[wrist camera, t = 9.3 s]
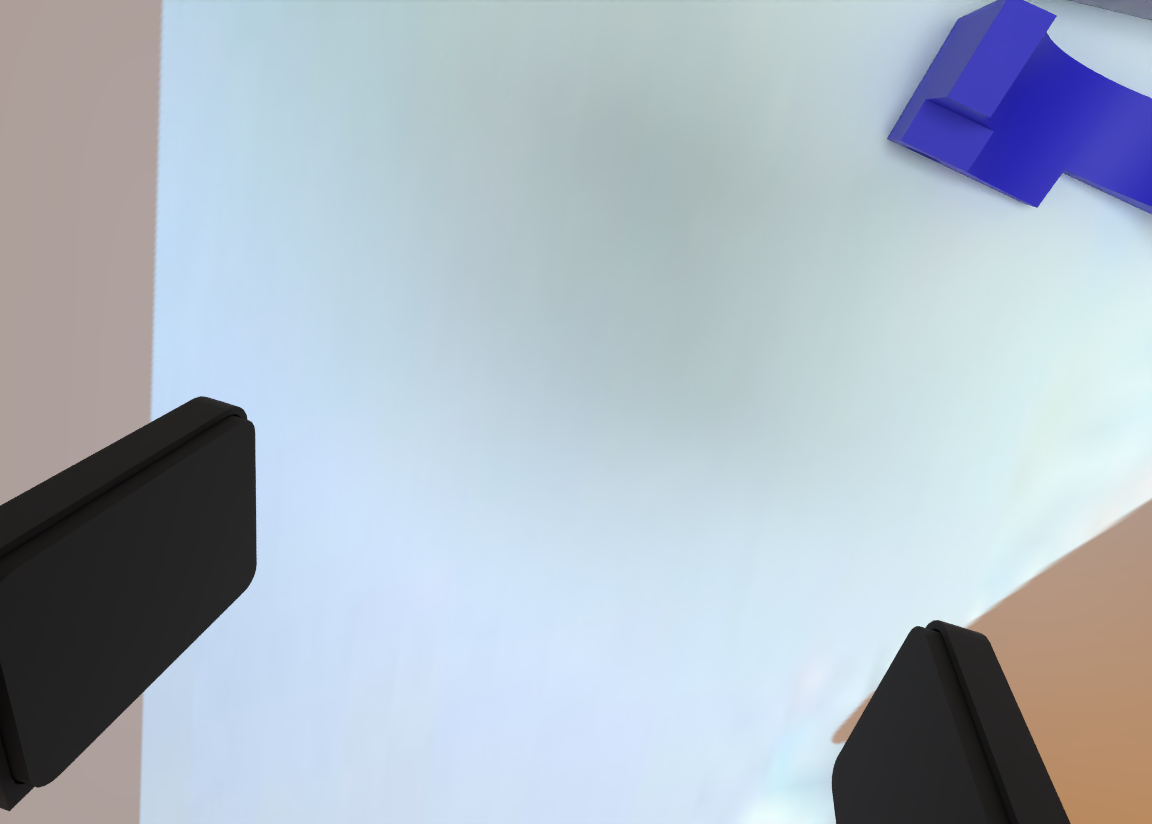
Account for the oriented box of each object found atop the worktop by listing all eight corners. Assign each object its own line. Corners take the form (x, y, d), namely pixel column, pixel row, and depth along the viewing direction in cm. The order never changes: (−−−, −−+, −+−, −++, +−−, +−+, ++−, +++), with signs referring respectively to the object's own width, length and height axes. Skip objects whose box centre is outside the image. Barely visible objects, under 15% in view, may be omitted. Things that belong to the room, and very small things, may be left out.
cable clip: (886, 138, 28) (918, 143, 22) (956, 19, 26) (1010, -6, 20) (1162, 268, 27) (1263, 306, 22) (1256, 158, 25) (1391, 169, 20)
